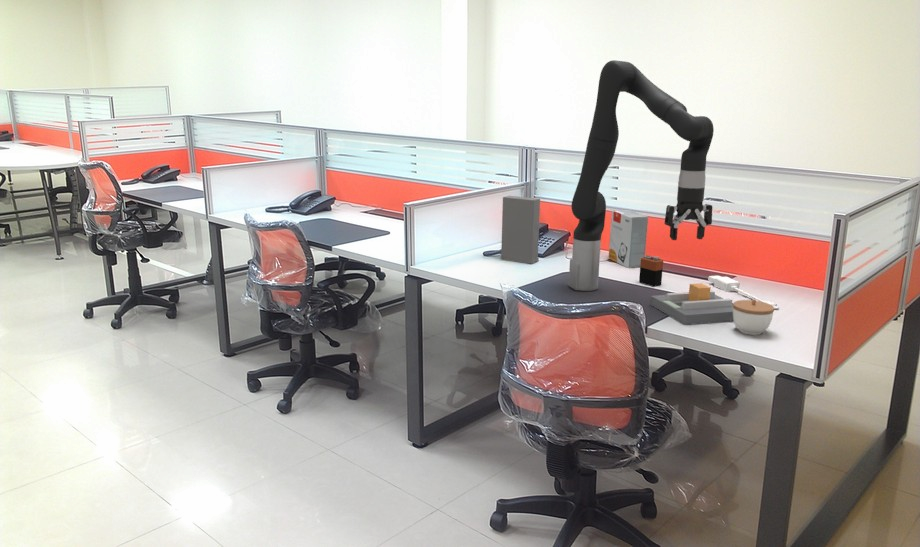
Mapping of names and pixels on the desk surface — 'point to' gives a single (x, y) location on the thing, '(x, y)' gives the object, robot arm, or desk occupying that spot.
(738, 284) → the charging cable
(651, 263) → the battery
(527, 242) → the tall grey upright block
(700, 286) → the handle
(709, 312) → the tray
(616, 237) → the hard drive box
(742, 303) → the lidded jar
